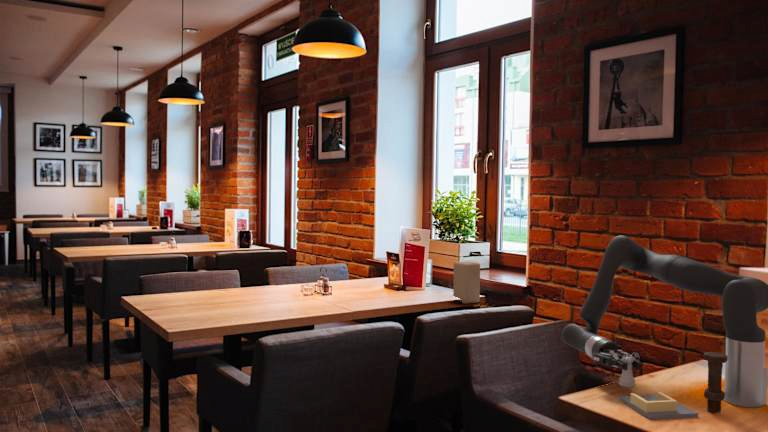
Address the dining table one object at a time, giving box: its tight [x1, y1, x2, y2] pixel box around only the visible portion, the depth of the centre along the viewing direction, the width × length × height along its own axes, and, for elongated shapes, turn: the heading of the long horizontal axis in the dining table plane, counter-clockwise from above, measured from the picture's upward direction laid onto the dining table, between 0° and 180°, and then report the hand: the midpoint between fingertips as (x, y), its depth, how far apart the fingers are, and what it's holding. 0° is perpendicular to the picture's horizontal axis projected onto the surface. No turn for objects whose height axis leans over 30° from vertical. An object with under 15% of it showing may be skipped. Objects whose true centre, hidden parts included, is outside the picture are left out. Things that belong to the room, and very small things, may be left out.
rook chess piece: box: [618, 355, 636, 388], centre depth 180 cm, size 4×4×8 cm
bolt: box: [702, 351, 728, 414], centre depth 166 cm, size 6×5×15 cm
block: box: [452, 260, 481, 304], centre depth 327 cm, size 10×10×20 cm
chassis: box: [618, 391, 699, 421], centre depth 169 cm, size 13×15×4 cm
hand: (633, 366), depth 177 cm, fingers closed on rook chess piece, 3 cm apart
